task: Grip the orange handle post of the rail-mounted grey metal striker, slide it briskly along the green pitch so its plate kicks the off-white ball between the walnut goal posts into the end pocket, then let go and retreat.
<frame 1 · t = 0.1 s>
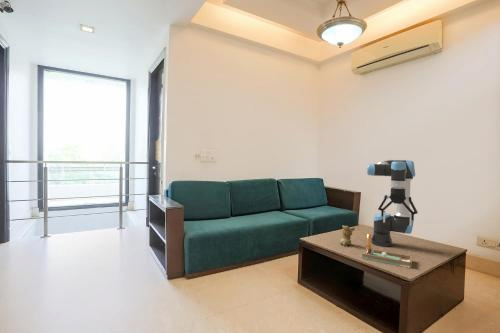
hand: (396, 223, 157), 28 cm above the table, fingers open, 13 cm apart
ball: (384, 254, 175), point 3 cm above the table, touching pitch
striker: (369, 244, 180), point 8 cm above the table, slide at 0.0 cm
pitch: (386, 259, 174), on the table
figurine: (346, 244, 204), on the table
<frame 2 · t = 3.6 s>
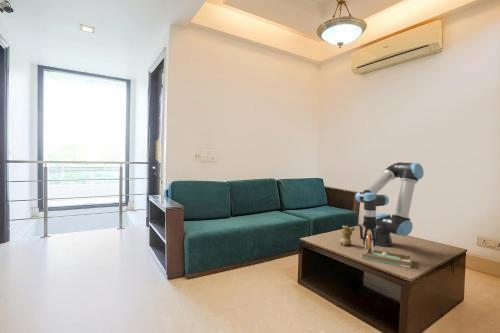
hand: (369, 250, 180), 4 cm above the table, fingers closed on striker, 4 cm apart
striker: (369, 244, 180), point 8 cm above the table, slide at -0.1 cm, touching gripper
everything else where it was.
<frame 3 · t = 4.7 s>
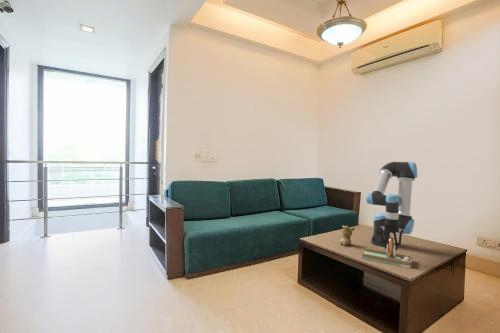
hand: (390, 254, 173), 4 cm above the table, fingers closed on striker, 3 cm apart
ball: (406, 259, 168), point 3 cm above the table, tilted 19°, touching pitch
striker: (391, 248, 173), point 8 cm above the table, slide at 13.0 cm, touching gripper
everything else where it was.
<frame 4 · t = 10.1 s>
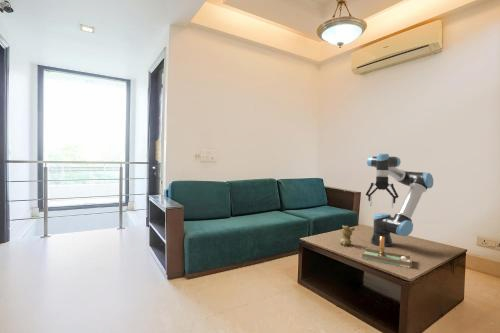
hand: (381, 206, 184), 33 cm above the table, fingers open, 13 cm apart
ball: (403, 258, 169), point 3 cm above the table, tilted 71°, touching pitch
striker: (382, 246, 176), point 8 cm above the table, slide at 7.9 cm
everything else where it was.
at the end: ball inside the target area (0.8 cm from its centre), point 2.5 cm above the table; striker slide at 7.9 cm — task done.
